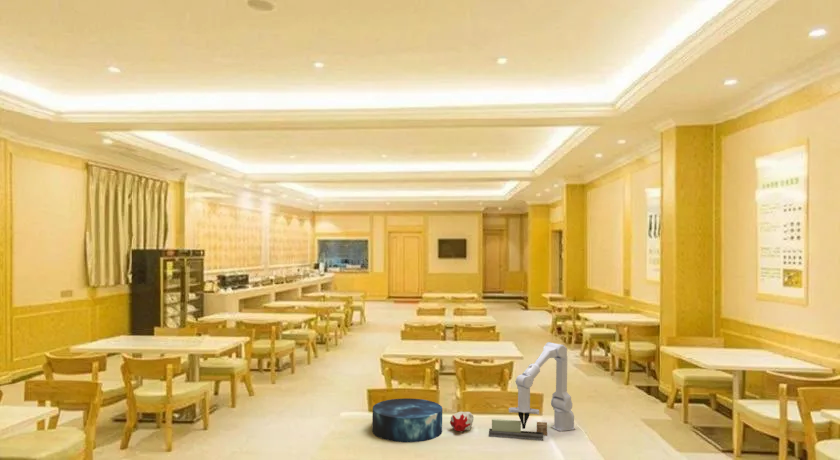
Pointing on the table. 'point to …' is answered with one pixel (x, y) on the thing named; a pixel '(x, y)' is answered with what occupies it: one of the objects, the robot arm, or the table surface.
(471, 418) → the rock with red coral
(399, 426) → the cylinder
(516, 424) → the pale green long bar
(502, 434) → the track
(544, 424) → the block
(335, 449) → the table surface
